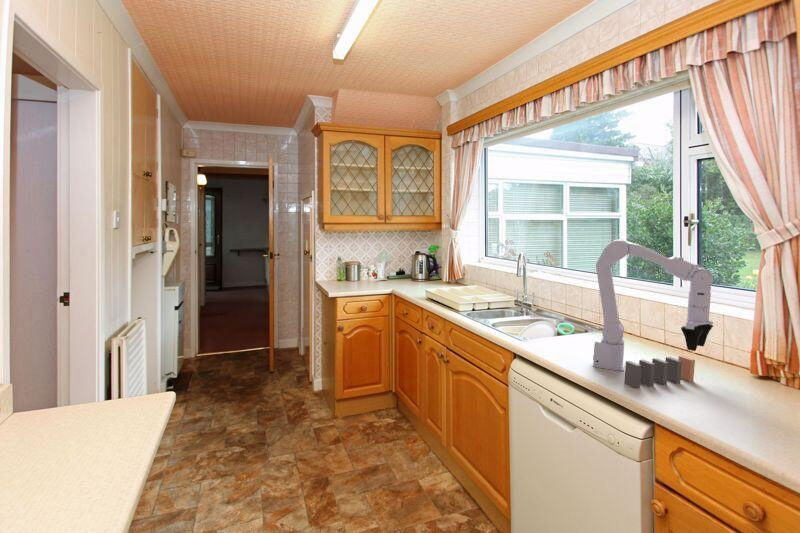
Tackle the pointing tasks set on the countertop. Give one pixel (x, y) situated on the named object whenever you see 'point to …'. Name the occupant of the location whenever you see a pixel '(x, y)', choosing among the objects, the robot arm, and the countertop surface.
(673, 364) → the domino
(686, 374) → the domino
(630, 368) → the domino
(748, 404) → the countertop surface
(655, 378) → the domino
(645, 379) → the domino
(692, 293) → the robot arm
